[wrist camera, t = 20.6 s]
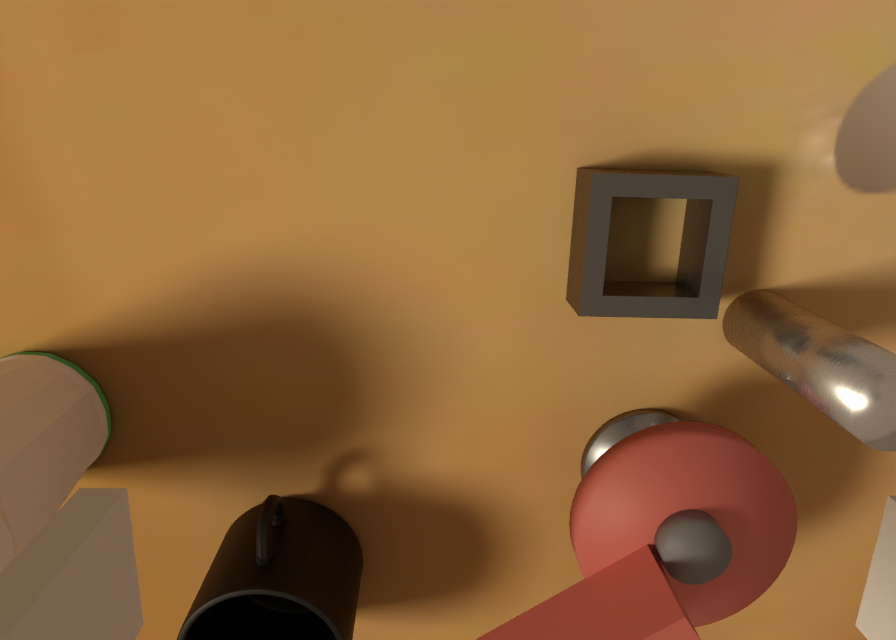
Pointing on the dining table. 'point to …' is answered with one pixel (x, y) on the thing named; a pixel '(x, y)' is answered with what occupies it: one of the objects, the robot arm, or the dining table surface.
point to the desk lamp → (668, 538)
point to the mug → (280, 577)
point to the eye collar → (698, 251)
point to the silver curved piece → (621, 432)
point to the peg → (819, 363)
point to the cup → (44, 441)
